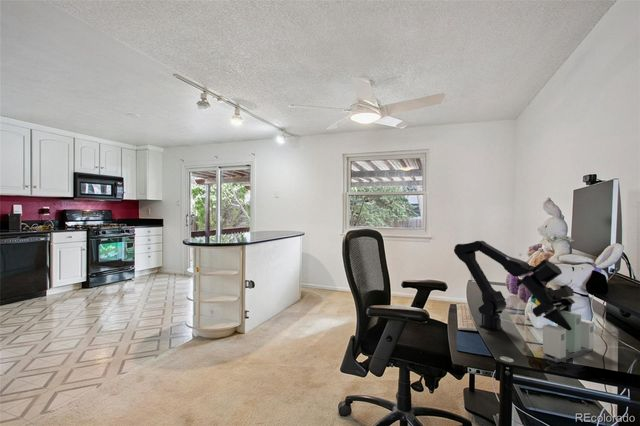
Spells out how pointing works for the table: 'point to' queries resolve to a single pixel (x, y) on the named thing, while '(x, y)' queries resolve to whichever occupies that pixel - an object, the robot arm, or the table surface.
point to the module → (572, 331)
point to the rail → (568, 354)
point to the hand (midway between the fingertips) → (573, 328)
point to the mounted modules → (557, 338)
